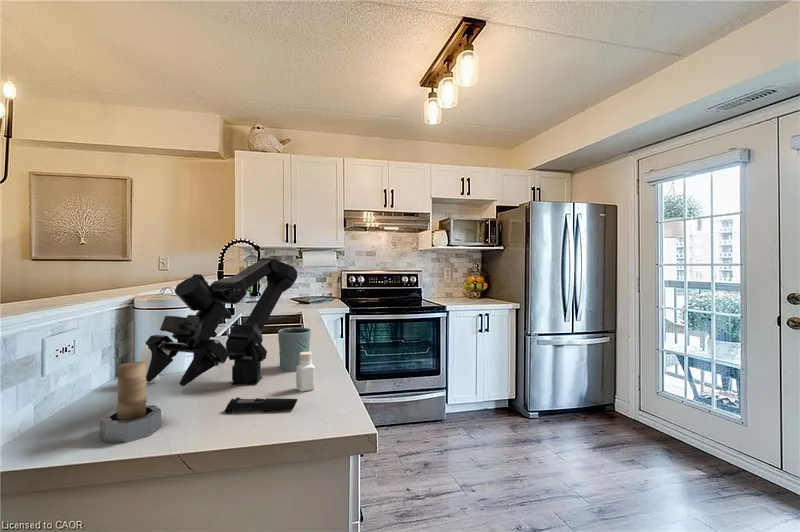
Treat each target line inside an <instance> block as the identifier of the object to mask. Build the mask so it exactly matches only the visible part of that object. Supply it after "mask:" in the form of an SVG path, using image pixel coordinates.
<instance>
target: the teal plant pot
mask: <svg viewBox="0 0 800 532" xmlns="http://www.w3.org/2000/svg"><path fill="white" fill-rule="evenodd" d="M311 334H312V330H311V329H310V328H306V327H285V328H281V329H279V330H278V331H277V335H278V336H277V338H278V339H277V340H278V349H279V350H278V351H279V369H280V370H281V371H282V370H283V371H284V372H291V371H293V372H296V367H297V366H298V365H300V361H299V360H300V353H301V352H310V346H311V345H310V343H311Z"/></svg>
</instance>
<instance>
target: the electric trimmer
mask: <svg viewBox="0 0 800 532" xmlns="http://www.w3.org/2000/svg"><path fill="white" fill-rule="evenodd" d="M297 402H298V398H274V397H273V398H272V397H271V398H260V397H259V398H240V397H239V396H238V397H236V398H231V399H230V400H229V402H228V404H227V405H226V407H225V409H224V412H225V414H230V413H232V412H235V413H236V412H263V413H271V412H281V411H290V410H291V411H292V410H293V409H294V408H295V406H296V404H297Z"/></svg>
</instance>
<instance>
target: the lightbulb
mask: <svg viewBox="0 0 800 532" xmlns="http://www.w3.org/2000/svg"><path fill="white" fill-rule="evenodd" d="M151 357H152V353H151V350H150V349H148V346H147V345H146V344H145V345H144V346H142V349H141V350H140V351H139V360H141V361H140V362H146V375H147V372H148V369H149V365H150V362H151ZM159 376H160V373H159V374H158V375H157V376H156V377H155V378H154V379H153V380H152V381H150V382H149V383H150V384H155V383H156V382H158V381H159V378H160V377H159Z"/></svg>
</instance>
